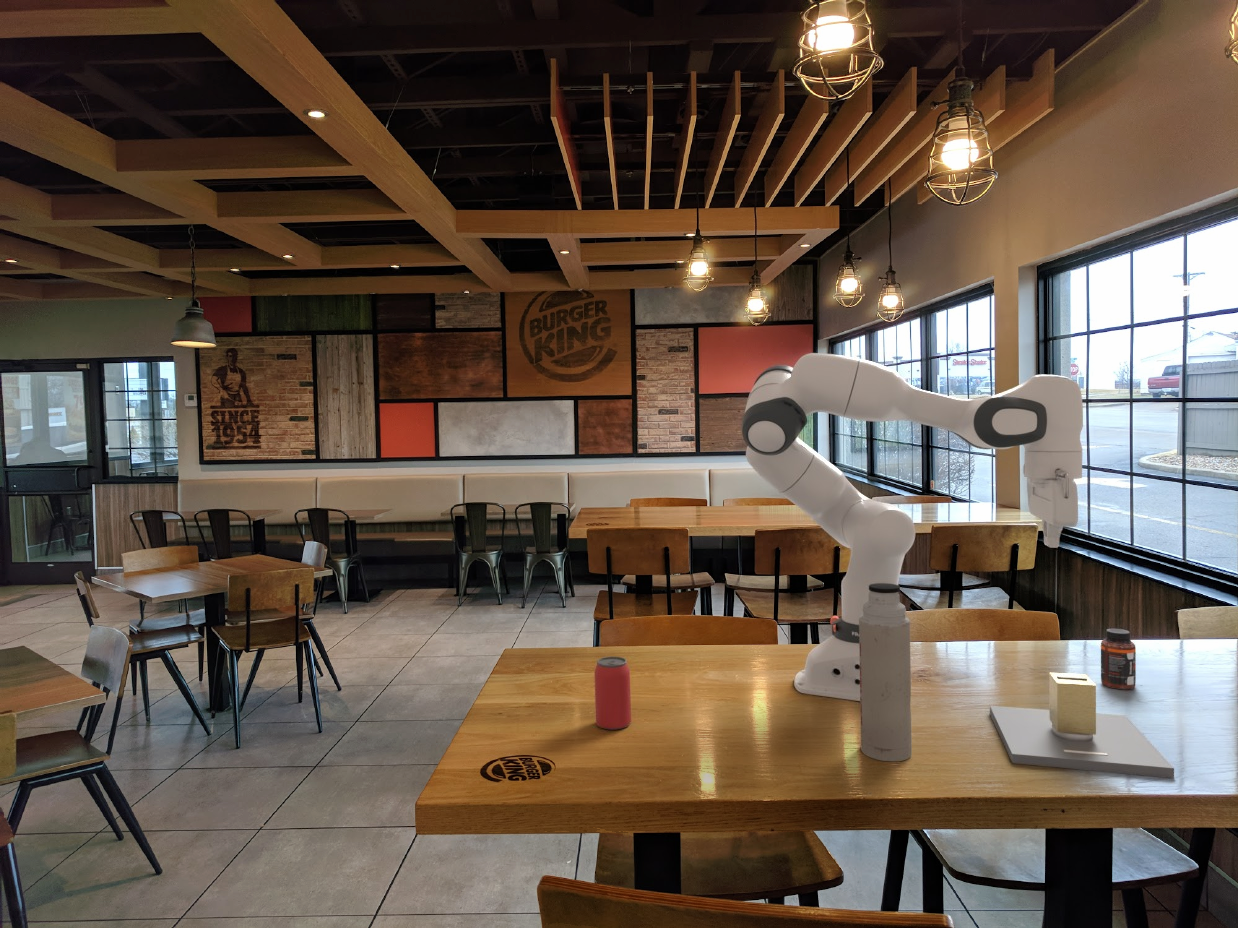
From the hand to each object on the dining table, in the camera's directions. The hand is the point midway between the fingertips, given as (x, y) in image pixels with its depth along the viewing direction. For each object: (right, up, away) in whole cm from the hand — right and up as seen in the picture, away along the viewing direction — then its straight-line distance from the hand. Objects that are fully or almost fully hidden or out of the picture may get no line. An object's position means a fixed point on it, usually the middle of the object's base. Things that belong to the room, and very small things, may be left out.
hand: (1051, 546), depth 135 cm
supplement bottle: (+25, -31, +21) cm, 45 cm away
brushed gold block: (0, -30, -6) cm, 30 cm away
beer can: (-77, -34, +8) cm, 85 cm away
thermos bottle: (-32, -34, -7) cm, 47 cm away
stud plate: (0, -32, -6) cm, 33 cm away
